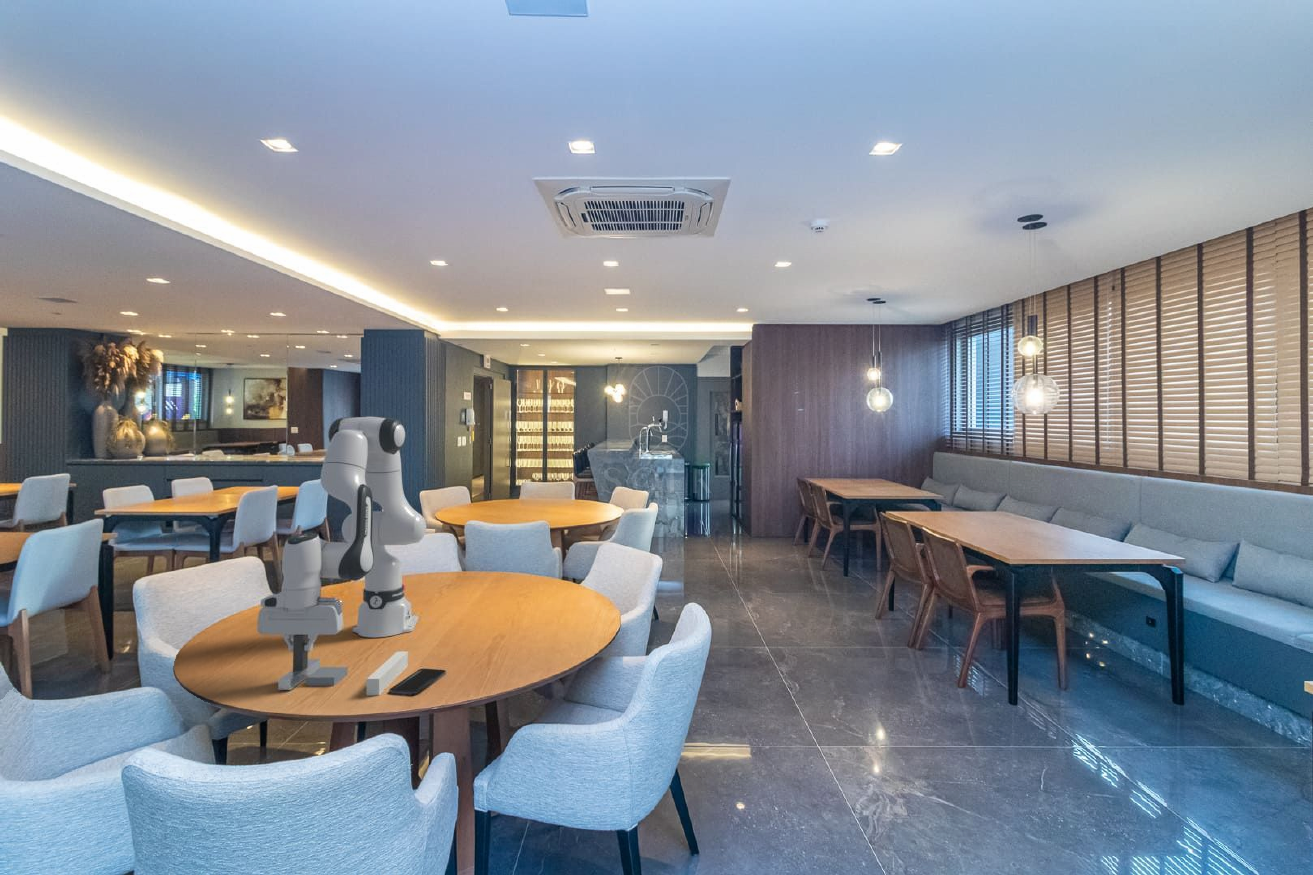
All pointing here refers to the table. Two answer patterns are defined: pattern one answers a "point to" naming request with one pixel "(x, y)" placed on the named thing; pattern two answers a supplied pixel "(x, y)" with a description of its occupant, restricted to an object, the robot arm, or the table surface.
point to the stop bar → (386, 673)
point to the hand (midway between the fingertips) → (300, 650)
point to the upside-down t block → (299, 665)
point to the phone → (417, 682)
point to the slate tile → (326, 676)
